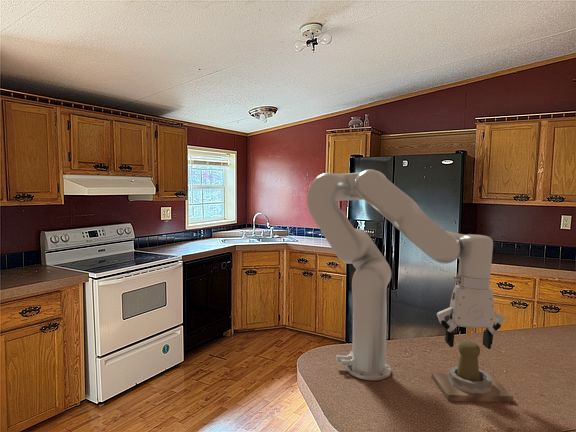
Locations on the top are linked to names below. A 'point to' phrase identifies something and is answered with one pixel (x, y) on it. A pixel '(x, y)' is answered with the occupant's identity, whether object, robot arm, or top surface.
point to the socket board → (469, 396)
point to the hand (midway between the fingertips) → (468, 345)
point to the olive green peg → (468, 361)
